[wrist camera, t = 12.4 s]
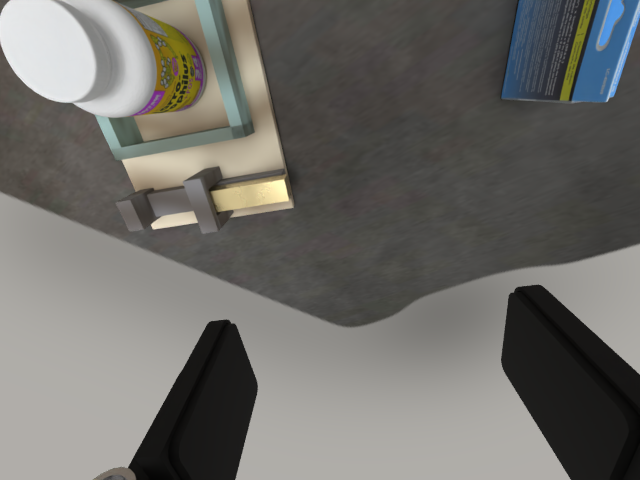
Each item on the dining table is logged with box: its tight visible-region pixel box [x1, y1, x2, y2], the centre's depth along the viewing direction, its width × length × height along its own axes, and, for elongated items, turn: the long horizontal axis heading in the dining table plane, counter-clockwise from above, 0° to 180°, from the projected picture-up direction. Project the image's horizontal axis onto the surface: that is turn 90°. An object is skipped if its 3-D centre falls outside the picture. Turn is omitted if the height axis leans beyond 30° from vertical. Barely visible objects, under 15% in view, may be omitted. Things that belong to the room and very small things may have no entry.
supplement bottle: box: [0, 0, 206, 118], centre depth 21 cm, size 7×7×13 cm
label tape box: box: [501, 0, 640, 103], centre depth 20 cm, size 9×4×12 cm, turn 3°
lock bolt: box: [208, 174, 292, 212], centre depth 28 cm, size 2×9×2 cm, turn 100°
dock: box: [95, 0, 294, 234], centre depth 27 cm, size 20×16×6 cm
